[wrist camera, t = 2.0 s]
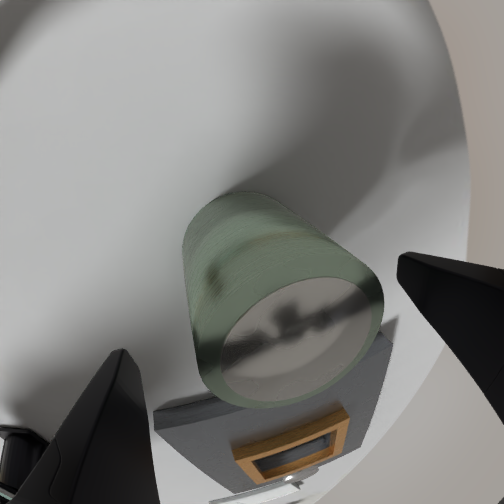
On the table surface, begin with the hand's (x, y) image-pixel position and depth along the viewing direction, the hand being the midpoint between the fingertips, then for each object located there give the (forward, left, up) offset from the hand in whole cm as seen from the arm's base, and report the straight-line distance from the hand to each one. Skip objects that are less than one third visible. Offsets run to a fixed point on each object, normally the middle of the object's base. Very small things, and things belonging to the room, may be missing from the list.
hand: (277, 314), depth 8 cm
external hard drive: (-7, -40, -5) cm, 41 cm away
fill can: (0, 0, -4) cm, 5 cm away
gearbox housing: (0, -19, -4) cm, 20 cm away
